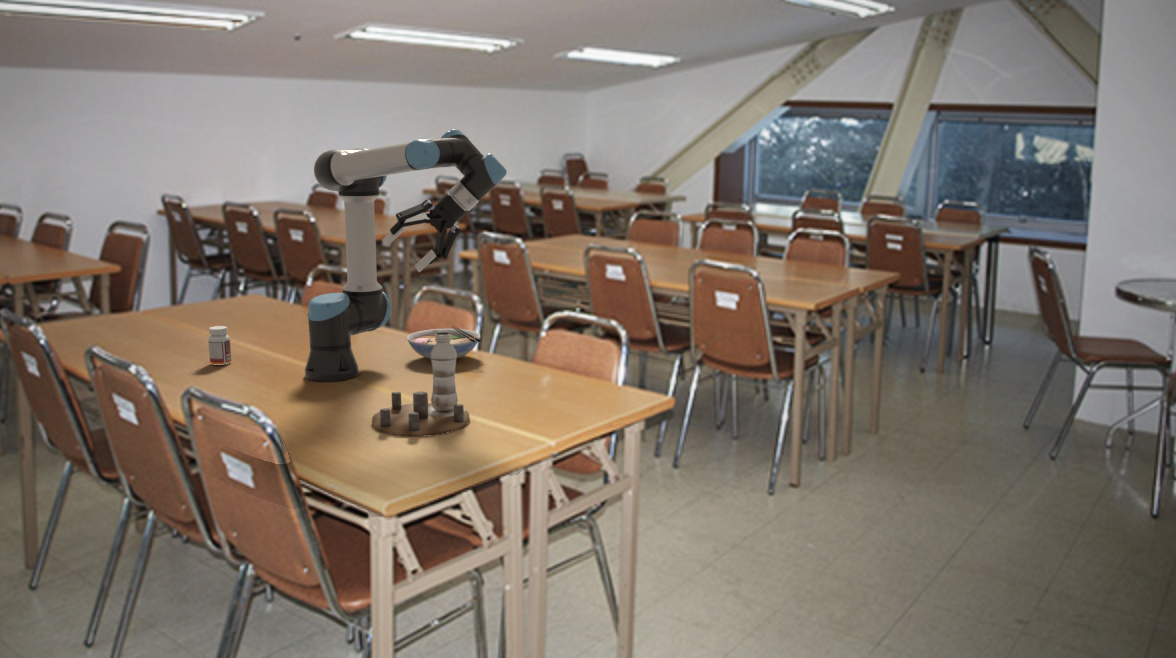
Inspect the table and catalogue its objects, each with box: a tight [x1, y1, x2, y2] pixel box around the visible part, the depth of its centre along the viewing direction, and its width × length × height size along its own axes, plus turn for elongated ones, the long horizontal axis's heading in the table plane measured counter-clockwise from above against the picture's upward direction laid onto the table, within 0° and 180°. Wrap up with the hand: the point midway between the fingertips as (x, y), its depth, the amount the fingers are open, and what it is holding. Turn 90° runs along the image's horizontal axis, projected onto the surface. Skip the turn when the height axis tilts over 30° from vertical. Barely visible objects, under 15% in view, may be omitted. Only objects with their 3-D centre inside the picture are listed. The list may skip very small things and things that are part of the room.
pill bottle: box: [207, 325, 232, 364], centre depth 310 cm, size 6×6×11 cm
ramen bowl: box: [406, 325, 482, 360], centre depth 317 cm, size 25×23×8 cm
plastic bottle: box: [430, 332, 459, 411], centre depth 259 cm, size 6×7×20 cm
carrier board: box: [371, 391, 470, 437], centre depth 255 cm, size 24×24×7 cm
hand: (400, 256), depth 275 cm, fingers open, 13 cm apart
